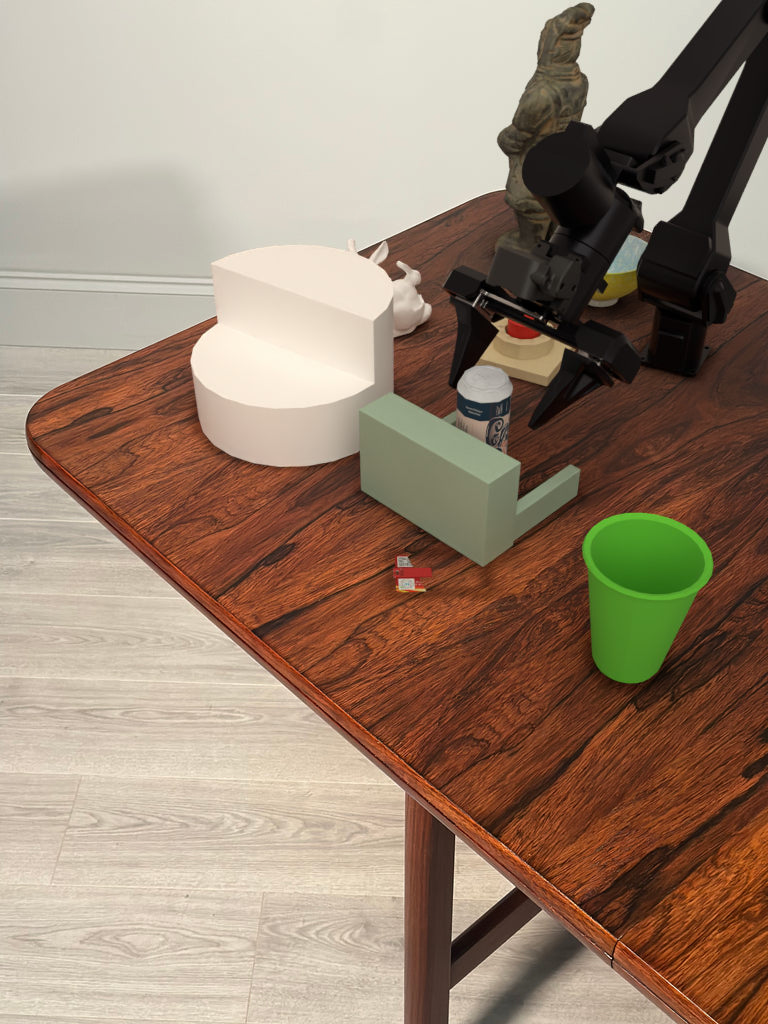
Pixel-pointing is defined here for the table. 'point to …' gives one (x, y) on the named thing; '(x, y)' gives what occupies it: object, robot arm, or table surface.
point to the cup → (640, 590)
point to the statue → (544, 119)
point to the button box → (524, 355)
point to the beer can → (485, 405)
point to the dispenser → (451, 479)
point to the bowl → (621, 273)
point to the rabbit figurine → (402, 294)
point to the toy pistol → (409, 575)
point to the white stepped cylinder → (293, 353)
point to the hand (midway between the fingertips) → (490, 407)
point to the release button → (521, 330)
